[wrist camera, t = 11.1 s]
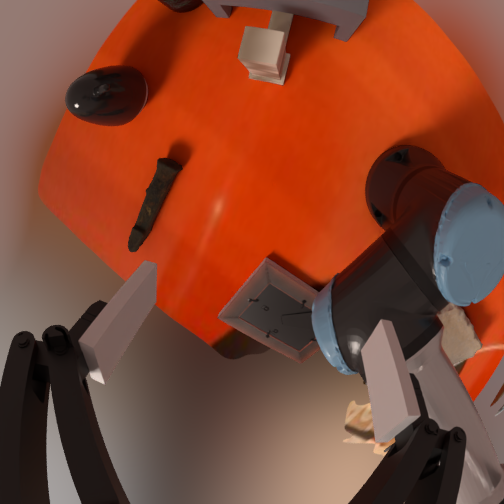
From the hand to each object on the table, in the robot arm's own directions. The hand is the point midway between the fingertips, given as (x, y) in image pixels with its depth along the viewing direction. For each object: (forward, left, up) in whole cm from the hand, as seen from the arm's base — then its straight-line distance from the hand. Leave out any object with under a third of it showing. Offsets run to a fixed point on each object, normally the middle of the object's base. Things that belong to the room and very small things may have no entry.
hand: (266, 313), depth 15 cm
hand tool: (+20, +9, -31) cm, 38 cm away
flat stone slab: (-47, +24, -31) cm, 61 cm away
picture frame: (-7, +25, -32) cm, 41 cm away
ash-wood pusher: (+6, -25, -31) cm, 40 cm away
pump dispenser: (+28, -10, -31) cm, 43 cm away
